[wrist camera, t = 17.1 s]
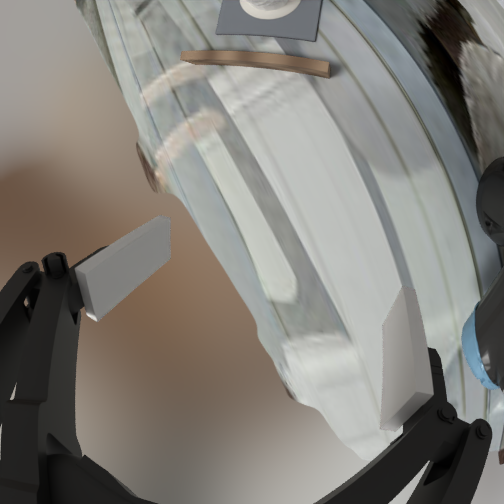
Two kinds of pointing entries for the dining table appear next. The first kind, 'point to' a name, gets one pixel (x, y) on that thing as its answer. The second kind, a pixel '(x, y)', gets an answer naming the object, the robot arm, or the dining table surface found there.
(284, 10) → the slate mat
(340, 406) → the dining table surface
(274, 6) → the white cup
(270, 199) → the dining table surface
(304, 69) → the low wall
